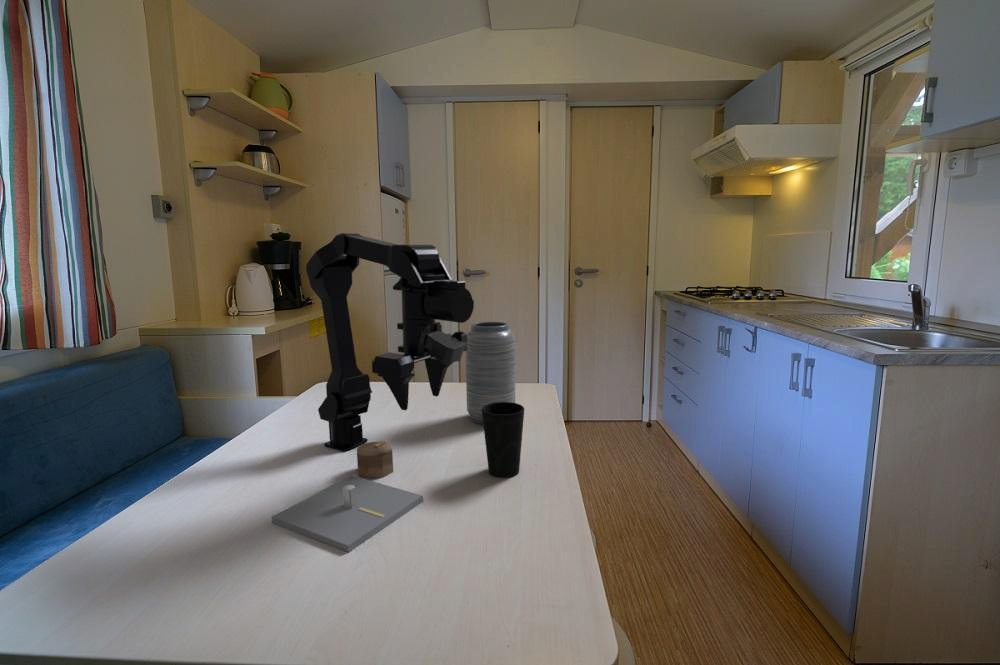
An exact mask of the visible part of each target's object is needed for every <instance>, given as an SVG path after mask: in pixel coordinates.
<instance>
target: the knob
mask: <svg viewBox="0 0 1000 665" xmlns="http://www.w3.org/2000/svg"><path fill="white" fill-rule="evenodd" d="M356 458H357V459H356V462H357V475H358V476H357V477H359V478H363V479H366V480H371V479H372V480H373V479H379V478H385V477H387V476H388V475H390V474H392V473H394V462H393V461H394V460H393V445H392V443H390V442H387V440H382V441H370V442H365V443H363V444H360V445H358V446H357V447H356Z"/></svg>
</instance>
